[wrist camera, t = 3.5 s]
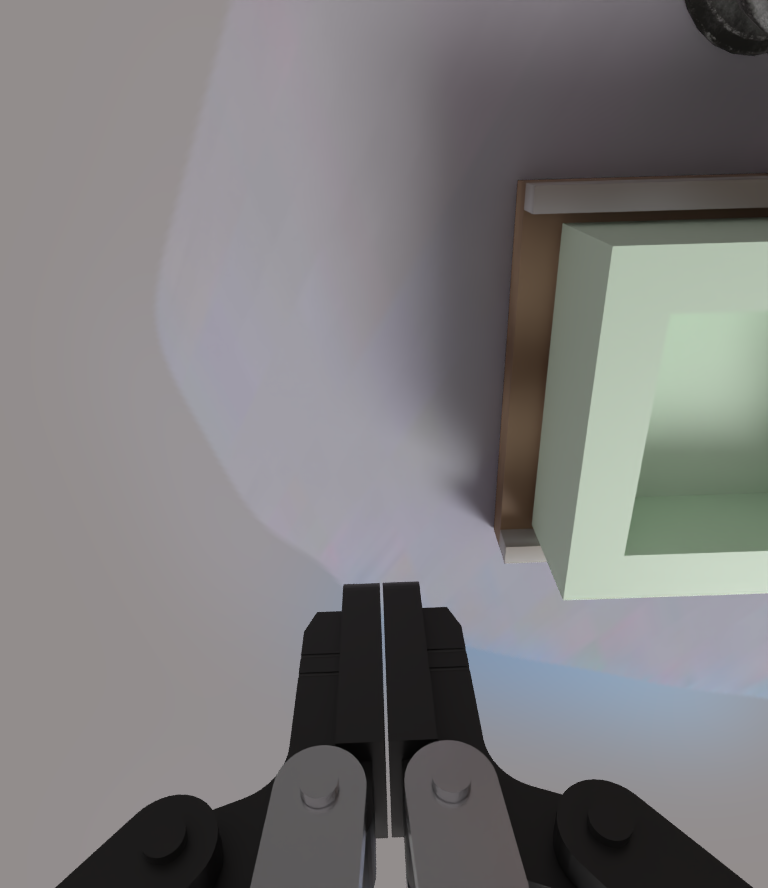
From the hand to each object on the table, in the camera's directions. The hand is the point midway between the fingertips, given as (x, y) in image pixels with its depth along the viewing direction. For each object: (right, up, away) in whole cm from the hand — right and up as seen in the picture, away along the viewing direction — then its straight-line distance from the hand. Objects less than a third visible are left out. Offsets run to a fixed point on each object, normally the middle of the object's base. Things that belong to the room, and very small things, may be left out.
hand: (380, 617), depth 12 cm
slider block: (+12, +6, +10) cm, 16 cm away
